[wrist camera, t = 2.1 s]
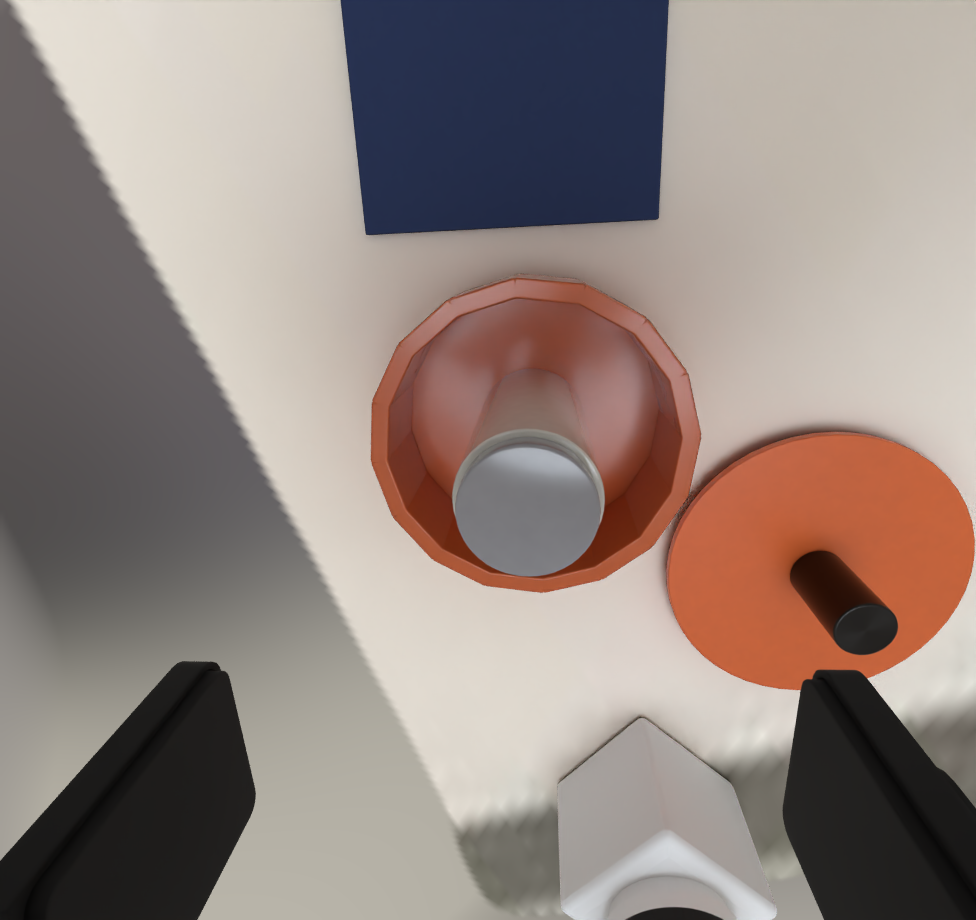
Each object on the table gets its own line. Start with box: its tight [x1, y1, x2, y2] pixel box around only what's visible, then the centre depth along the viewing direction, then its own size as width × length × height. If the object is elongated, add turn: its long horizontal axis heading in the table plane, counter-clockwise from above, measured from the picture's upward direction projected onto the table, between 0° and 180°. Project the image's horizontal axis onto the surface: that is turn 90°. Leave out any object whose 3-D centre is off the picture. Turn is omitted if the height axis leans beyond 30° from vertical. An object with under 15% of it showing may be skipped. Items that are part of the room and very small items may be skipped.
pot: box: [371, 274, 701, 593], centre depth 25 cm, size 12×12×5 cm
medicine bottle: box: [557, 718, 777, 920], centre depth 28 cm, size 7×7×12 cm
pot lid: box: [666, 432, 975, 690], centre depth 25 cm, size 13×13×6 cm
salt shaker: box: [452, 369, 605, 577], centre depth 22 cm, size 5×5×10 cm
